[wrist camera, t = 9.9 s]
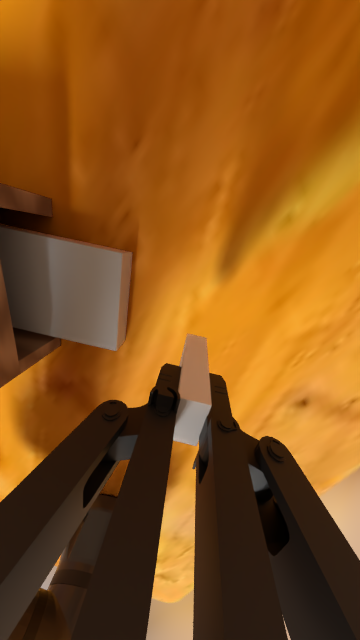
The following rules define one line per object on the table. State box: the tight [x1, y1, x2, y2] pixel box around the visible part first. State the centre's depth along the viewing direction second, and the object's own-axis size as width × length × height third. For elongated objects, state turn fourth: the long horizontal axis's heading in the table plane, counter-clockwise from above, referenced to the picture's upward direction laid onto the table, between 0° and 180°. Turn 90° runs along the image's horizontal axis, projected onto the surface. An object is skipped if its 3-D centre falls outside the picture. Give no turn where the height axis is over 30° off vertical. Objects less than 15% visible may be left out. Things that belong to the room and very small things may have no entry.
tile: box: [0, 224, 133, 351], centre depth 19 cm, size 10×18×3 cm, turn 79°
